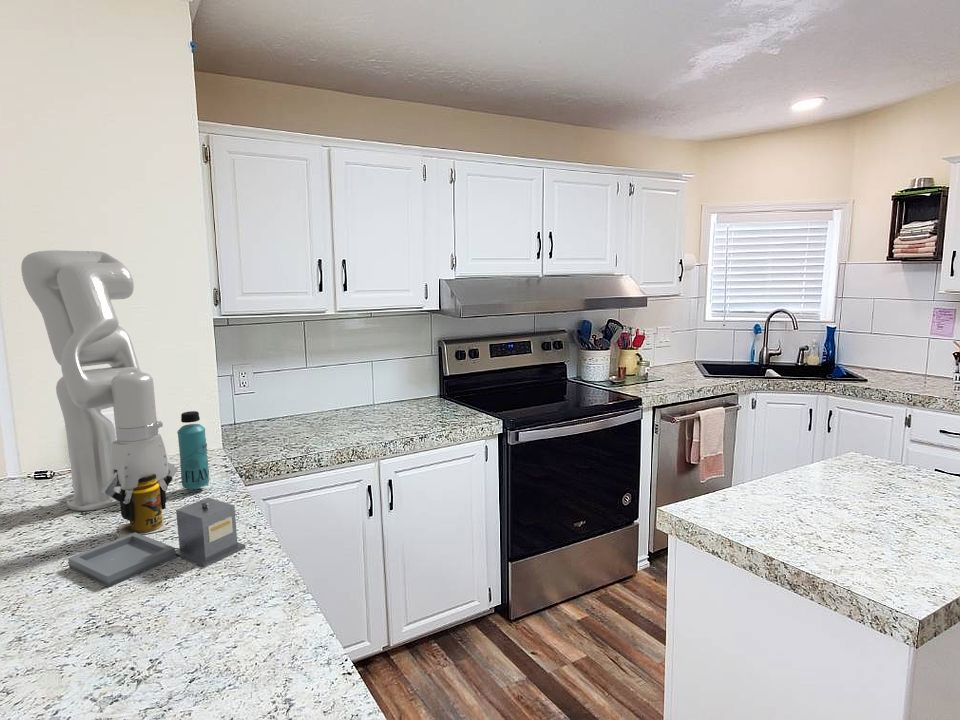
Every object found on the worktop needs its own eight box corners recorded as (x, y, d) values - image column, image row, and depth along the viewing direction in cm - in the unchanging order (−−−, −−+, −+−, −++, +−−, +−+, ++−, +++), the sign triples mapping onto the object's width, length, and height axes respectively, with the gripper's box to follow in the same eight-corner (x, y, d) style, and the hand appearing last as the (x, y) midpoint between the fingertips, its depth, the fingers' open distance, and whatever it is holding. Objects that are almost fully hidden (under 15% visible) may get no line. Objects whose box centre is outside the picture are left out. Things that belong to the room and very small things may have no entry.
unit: (172, 554, 115) (167, 506, 113) (213, 536, 123) (209, 491, 121) (204, 567, 110) (200, 517, 108) (245, 547, 117) (241, 500, 116)
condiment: (166, 529, 126) (161, 476, 124) (119, 539, 121) (114, 484, 119) (162, 517, 132) (158, 465, 130) (118, 526, 127) (113, 473, 125)
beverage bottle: (182, 496, 144) (175, 416, 141) (181, 487, 150) (174, 410, 147) (211, 491, 147) (205, 413, 144) (209, 483, 153) (203, 407, 150)
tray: (69, 568, 110) (68, 558, 110) (136, 541, 120) (135, 532, 120) (108, 587, 103) (107, 576, 103) (175, 557, 114) (174, 547, 113)
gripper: (166, 420, 133) (172, 496, 136) (83, 439, 118) (92, 524, 121) (186, 425, 129) (192, 503, 132) (103, 445, 114) (112, 533, 117)
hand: (144, 512), depth 126 cm, fingers closed on condiment, 6 cm apart
